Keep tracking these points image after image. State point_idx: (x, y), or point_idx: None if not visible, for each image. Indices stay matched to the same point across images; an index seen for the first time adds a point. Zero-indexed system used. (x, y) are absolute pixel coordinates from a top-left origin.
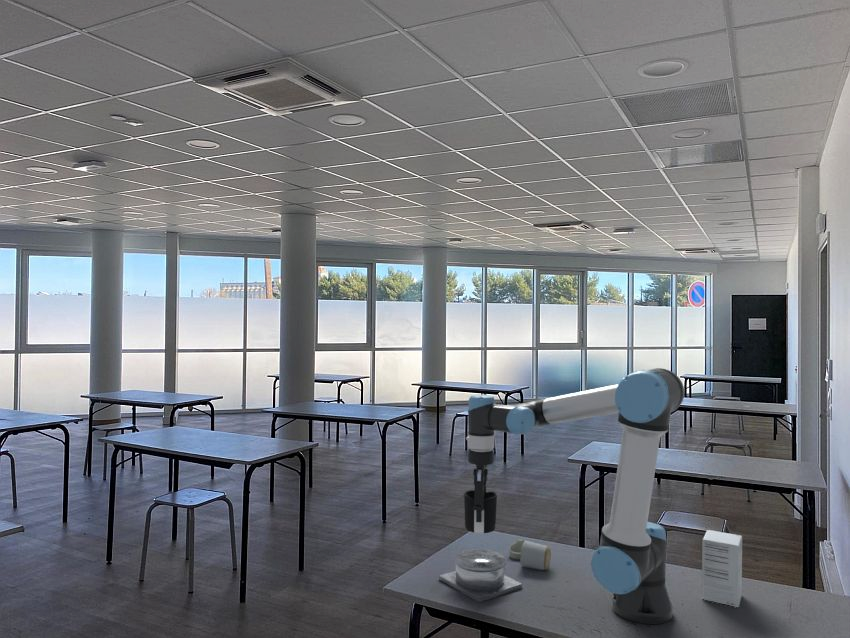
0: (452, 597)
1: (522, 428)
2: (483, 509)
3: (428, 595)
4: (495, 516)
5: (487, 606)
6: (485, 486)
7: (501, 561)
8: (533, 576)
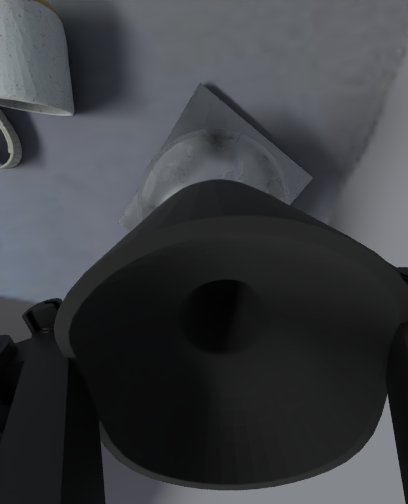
0: None
1: None
2: (404, 269)
3: None
4: (227, 183)
5: (324, 153)
6: (63, 439)
7: (212, 143)
8: (111, 65)
